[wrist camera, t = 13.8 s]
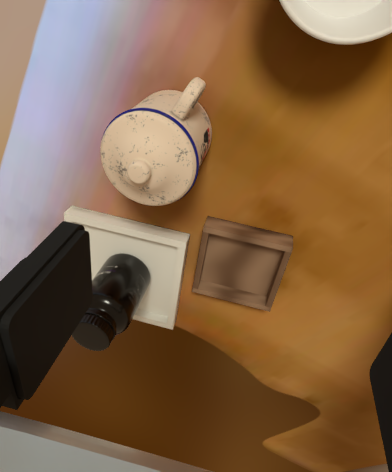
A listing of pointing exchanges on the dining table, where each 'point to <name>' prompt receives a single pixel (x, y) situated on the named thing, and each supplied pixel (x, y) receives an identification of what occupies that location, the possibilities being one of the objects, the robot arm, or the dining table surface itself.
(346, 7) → the food container
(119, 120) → the teacup with lid
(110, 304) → the supplement bottle
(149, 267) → the tray
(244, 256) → the holder
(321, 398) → the dining table surface
